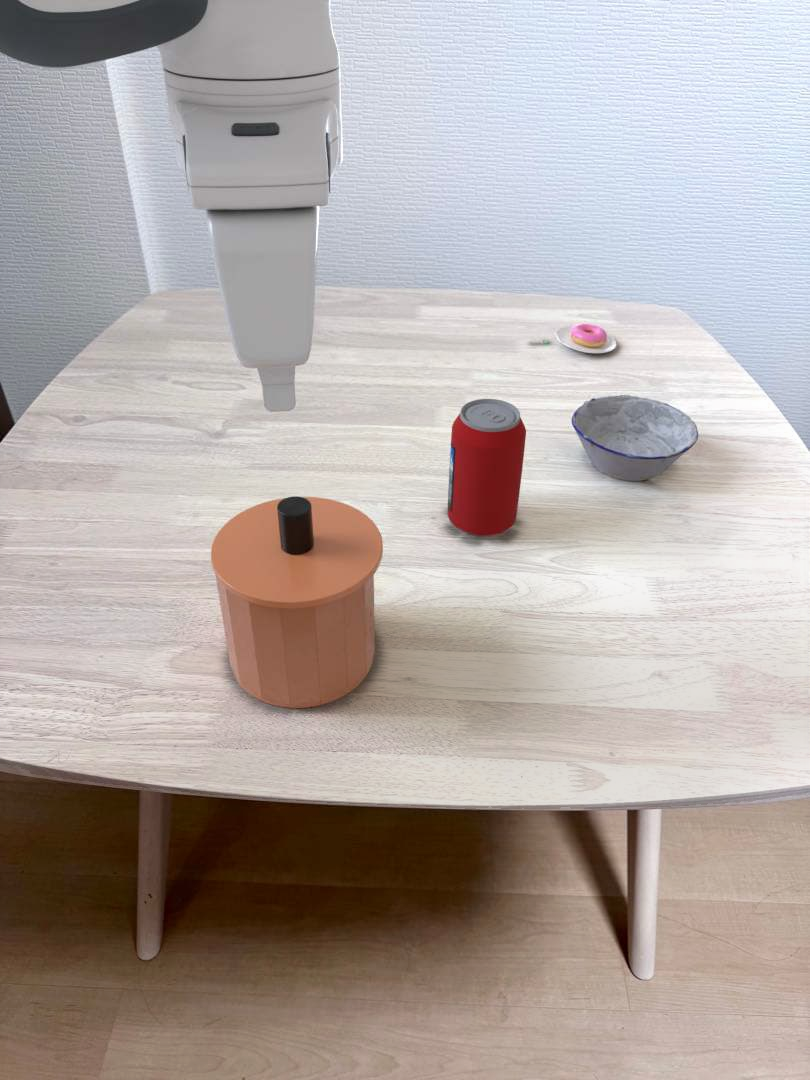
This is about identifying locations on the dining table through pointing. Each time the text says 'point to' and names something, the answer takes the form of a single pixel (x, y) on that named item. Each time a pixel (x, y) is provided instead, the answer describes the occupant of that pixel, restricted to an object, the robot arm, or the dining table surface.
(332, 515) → the lid
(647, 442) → the bowl
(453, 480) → the beverage can
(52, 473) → the dining table surface
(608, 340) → the donut
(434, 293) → the dining table surface
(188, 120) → the robot arm
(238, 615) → the terracotta faceted cylinder
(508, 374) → the dining table surface
